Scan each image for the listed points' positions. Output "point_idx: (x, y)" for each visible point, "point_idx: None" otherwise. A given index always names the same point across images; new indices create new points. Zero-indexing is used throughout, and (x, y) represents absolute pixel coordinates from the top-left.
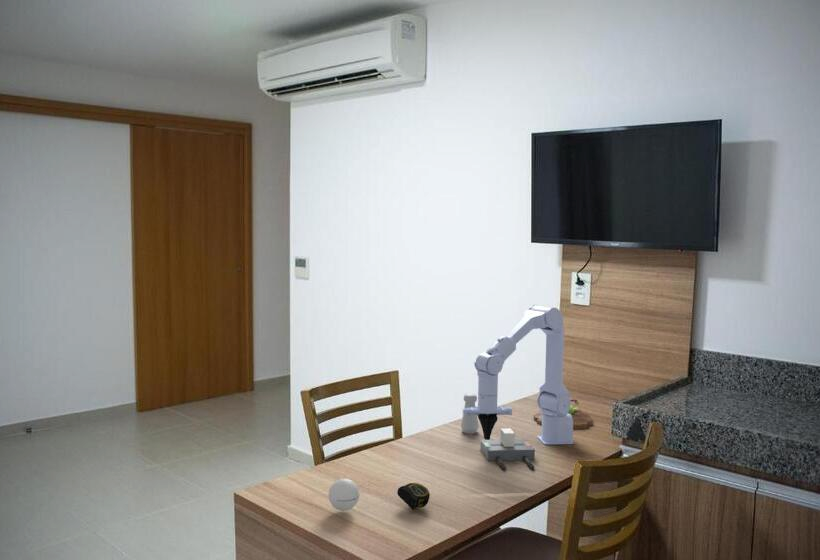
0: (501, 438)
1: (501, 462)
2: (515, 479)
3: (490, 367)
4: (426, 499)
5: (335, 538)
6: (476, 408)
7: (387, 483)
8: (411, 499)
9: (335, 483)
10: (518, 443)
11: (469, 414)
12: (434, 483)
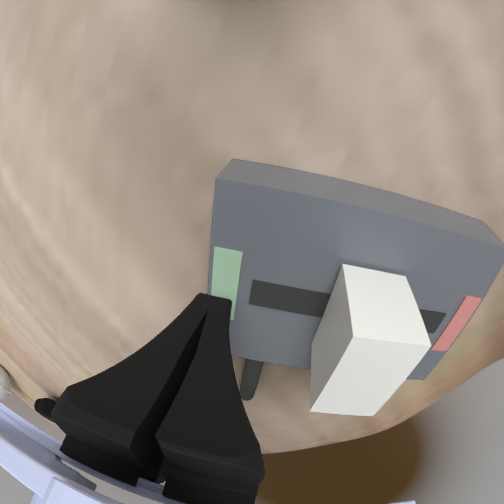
0: (335, 309)
1: (248, 380)
2: (251, 423)
3: None
4: None
5: (26, 402)
6: (21, 464)
7: (4, 333)
8: None
9: None
10: (424, 312)
11: (12, 419)
12: (68, 370)
